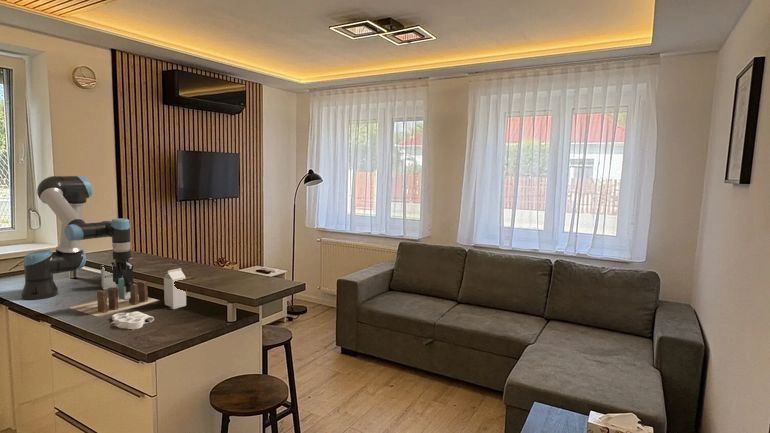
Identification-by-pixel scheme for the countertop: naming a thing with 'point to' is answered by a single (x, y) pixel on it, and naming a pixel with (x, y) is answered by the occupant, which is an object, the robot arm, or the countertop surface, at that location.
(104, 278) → the supplement box
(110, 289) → the domino
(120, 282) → the domino
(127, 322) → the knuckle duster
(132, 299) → the domino
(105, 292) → the domino
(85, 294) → the countertop surface
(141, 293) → the domino
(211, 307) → the countertop surface
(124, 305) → the birch board
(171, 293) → the milk carton
